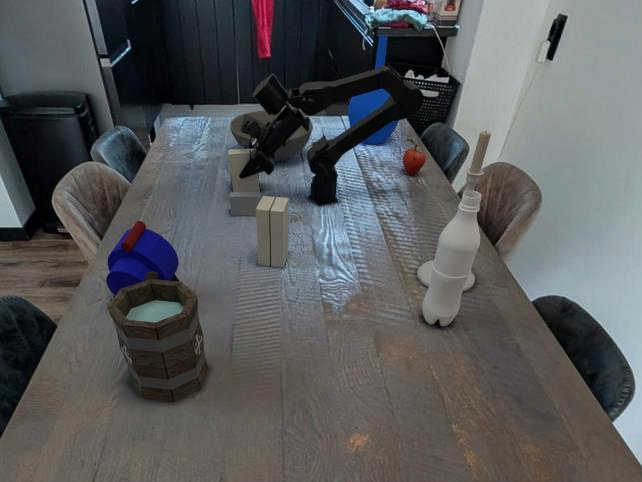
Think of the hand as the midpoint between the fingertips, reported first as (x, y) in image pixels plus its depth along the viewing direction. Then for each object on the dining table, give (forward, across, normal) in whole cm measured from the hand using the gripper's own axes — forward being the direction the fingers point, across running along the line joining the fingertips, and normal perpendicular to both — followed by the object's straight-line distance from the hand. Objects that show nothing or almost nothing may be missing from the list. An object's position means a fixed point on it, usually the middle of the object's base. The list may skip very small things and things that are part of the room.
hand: (239, 174), depth 128 cm
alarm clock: (+20, +47, -9) cm, 52 cm away
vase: (-29, -50, +38) cm, 70 cm away
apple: (-34, -18, +42) cm, 57 cm away
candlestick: (-28, +43, +37) cm, 63 cm away
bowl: (-3, -35, +13) cm, 37 cm away
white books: (0, +32, +10) cm, 34 cm away
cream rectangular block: (+4, 0, +6) cm, 7 cm away
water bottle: (-23, +58, +32) cm, 70 cm away
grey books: (+4, -2, +6) cm, 7 cm away
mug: (+16, +68, -4) cm, 70 cm away
